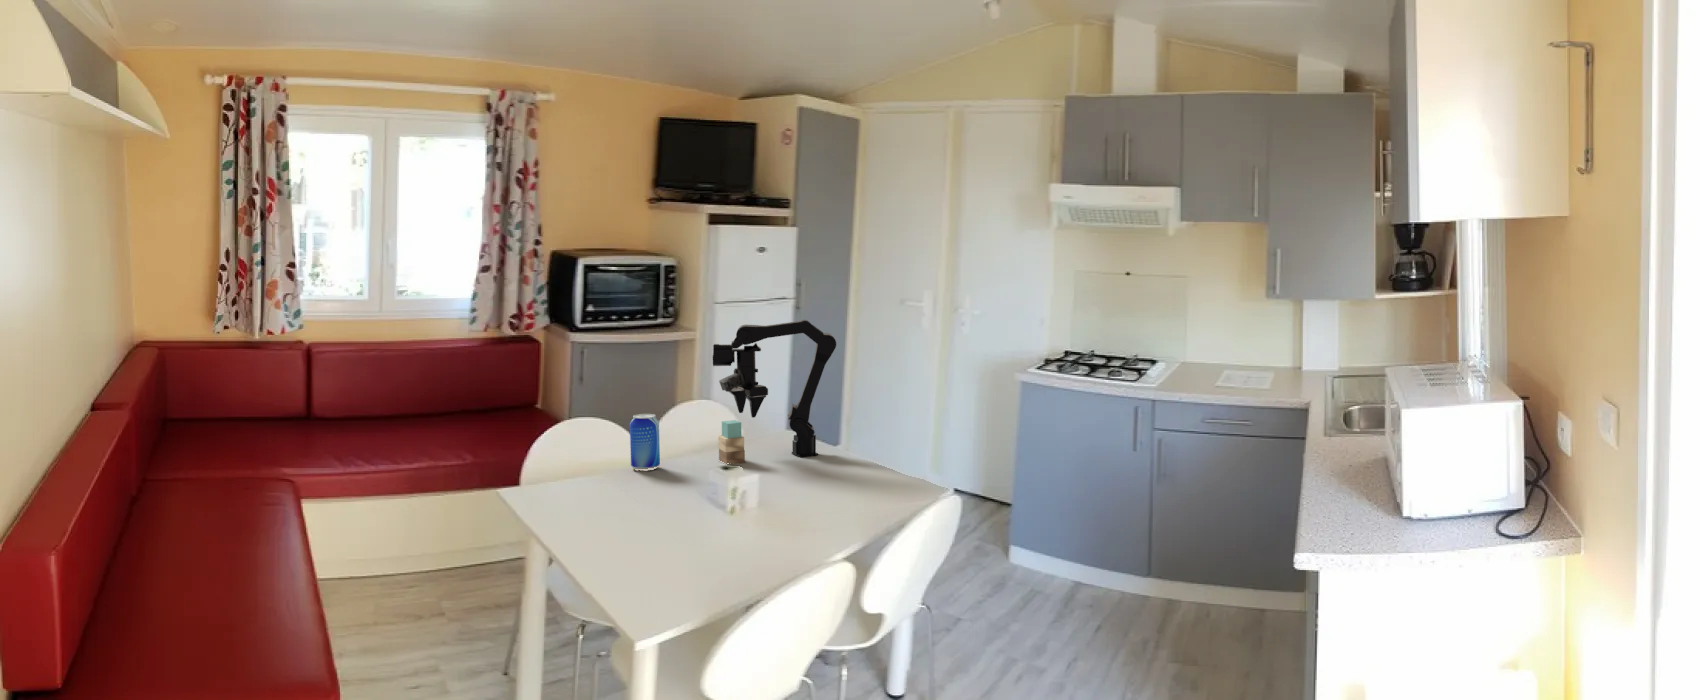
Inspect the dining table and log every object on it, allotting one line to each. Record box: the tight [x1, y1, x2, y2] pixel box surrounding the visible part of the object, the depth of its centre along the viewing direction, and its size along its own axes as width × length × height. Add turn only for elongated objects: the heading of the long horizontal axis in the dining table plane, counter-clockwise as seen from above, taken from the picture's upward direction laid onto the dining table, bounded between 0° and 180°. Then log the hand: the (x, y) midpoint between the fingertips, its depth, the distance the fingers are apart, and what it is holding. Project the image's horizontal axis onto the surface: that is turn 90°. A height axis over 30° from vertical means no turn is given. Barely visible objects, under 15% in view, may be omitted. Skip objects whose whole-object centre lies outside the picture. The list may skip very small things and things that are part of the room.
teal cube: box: [721, 419, 742, 439], centre depth 312 cm, size 4×4×4 cm
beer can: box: [629, 413, 661, 470], centre depth 303 cm, size 8×8×16 cm
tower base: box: [718, 448, 746, 465], centre depth 313 cm, size 6×6×4 cm
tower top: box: [717, 434, 745, 452], centre depth 312 cm, size 6×6×4 cm
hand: (747, 415), depth 320 cm, fingers open, 9 cm apart
